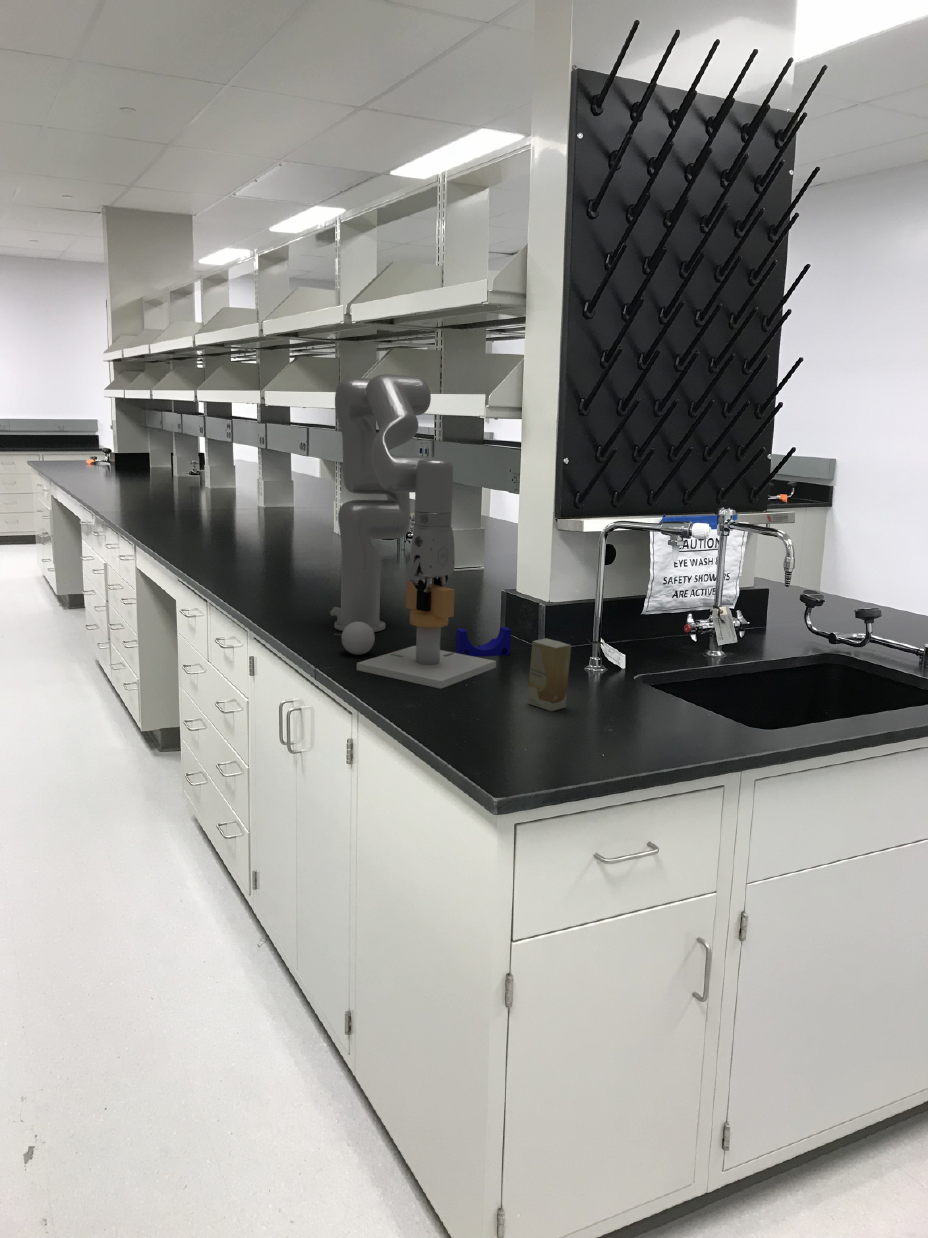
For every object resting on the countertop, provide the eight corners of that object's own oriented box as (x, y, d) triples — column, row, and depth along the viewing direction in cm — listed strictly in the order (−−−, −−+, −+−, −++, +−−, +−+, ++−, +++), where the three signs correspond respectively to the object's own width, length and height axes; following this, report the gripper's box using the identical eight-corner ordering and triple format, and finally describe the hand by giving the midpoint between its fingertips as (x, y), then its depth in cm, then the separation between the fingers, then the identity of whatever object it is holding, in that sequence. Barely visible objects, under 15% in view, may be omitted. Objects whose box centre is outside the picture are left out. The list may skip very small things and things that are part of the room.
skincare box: (526, 704, 175) (529, 640, 173) (541, 700, 178) (545, 637, 176) (552, 712, 171) (556, 647, 168) (567, 708, 174) (572, 644, 171)
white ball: (381, 653, 208) (382, 621, 206) (361, 660, 202) (361, 627, 200) (345, 646, 213) (345, 615, 211) (324, 653, 206) (325, 620, 205)
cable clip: (502, 650, 216) (503, 625, 215) (509, 655, 212) (511, 629, 211) (453, 653, 212) (454, 627, 211) (459, 657, 208) (460, 631, 207)
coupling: (462, 626, 193) (463, 588, 191) (432, 631, 188) (433, 591, 186) (425, 616, 202) (427, 579, 200) (396, 620, 197) (397, 582, 195)
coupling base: (356, 670, 194) (357, 623, 192) (415, 651, 211) (417, 609, 209) (440, 688, 183) (442, 639, 181) (495, 667, 200) (498, 622, 198)
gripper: (424, 524, 181) (421, 617, 185) (470, 519, 195) (467, 605, 199) (393, 521, 185) (390, 612, 189) (440, 516, 199) (437, 601, 203)
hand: (430, 608), depth 194 cm, fingers closed on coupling, 4 cm apart
